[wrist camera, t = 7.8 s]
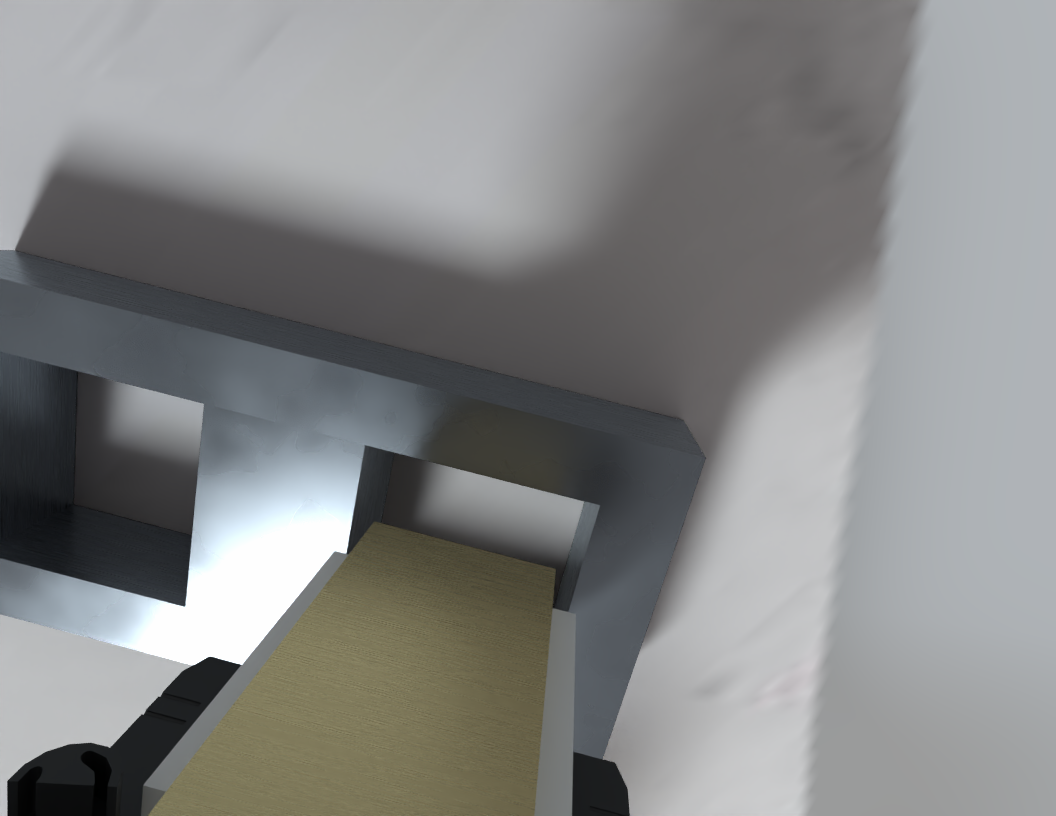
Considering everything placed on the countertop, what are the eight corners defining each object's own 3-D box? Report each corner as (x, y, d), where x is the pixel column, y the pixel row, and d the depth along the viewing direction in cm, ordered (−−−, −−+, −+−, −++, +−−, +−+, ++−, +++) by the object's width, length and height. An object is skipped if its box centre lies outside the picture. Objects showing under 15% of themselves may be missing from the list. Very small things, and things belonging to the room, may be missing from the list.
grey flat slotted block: (13, 537, 22) (-90, 590, 19) (13, 250, 19) (-108, 250, 16) (595, 690, 22) (597, 772, 18) (683, 420, 19) (705, 457, 15)
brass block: (346, 673, 16) (113, 1090, 8) (373, 521, 14) (131, 836, 7) (513, 719, 15) (443, 1185, 8) (555, 569, 14) (522, 945, 7)
